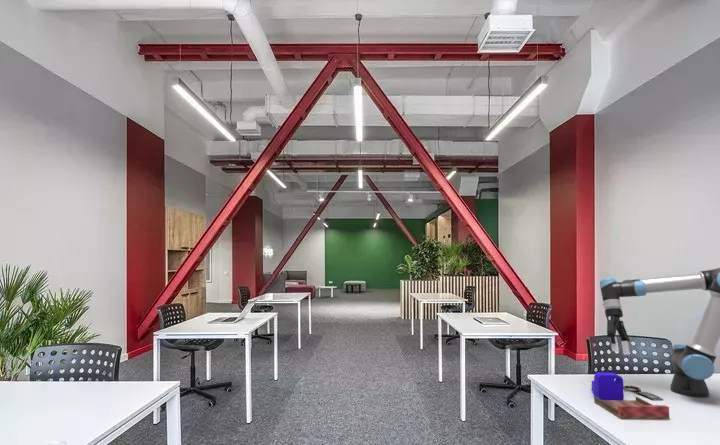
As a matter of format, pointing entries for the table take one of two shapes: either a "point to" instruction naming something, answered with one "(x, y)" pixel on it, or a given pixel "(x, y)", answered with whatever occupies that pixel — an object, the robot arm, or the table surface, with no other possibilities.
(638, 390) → the keychain
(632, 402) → the walnut stop track
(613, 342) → the robot arm
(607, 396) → the bracket
